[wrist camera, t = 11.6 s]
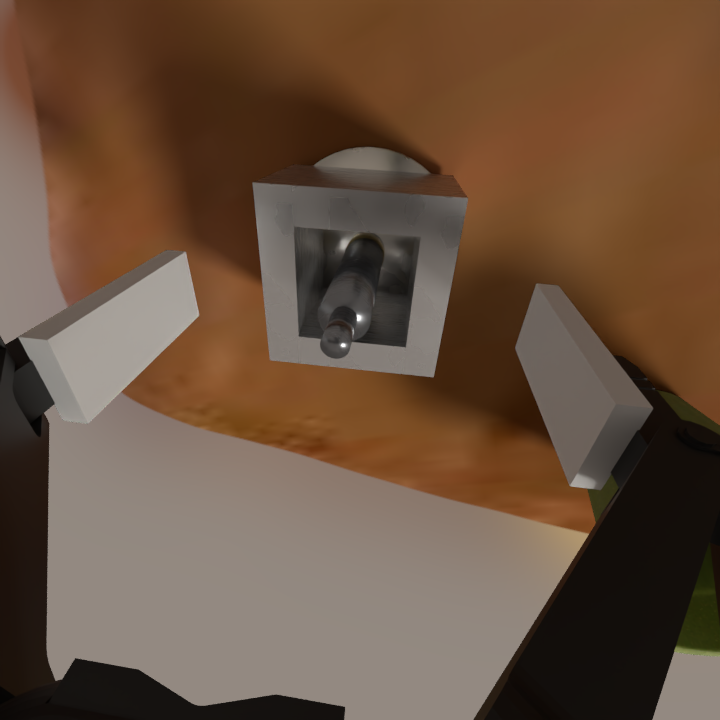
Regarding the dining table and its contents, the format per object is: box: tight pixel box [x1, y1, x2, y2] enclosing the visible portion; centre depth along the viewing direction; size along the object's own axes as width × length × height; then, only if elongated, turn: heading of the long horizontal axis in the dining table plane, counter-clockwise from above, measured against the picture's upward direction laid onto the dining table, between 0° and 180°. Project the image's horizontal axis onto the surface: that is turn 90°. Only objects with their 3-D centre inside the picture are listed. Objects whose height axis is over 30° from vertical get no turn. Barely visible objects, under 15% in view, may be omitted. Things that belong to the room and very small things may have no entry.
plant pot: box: [587, 390, 720, 656], centre depth 22 cm, size 12×12×11 cm
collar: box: [253, 164, 468, 377], centre depth 19 cm, size 8×8×6 cm
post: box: [313, 147, 431, 359], centre depth 17 cm, size 10×10×11 cm
